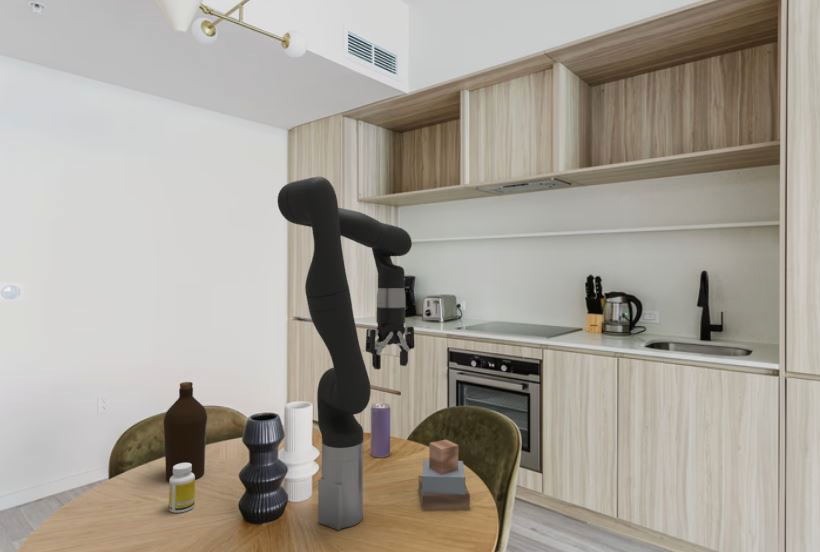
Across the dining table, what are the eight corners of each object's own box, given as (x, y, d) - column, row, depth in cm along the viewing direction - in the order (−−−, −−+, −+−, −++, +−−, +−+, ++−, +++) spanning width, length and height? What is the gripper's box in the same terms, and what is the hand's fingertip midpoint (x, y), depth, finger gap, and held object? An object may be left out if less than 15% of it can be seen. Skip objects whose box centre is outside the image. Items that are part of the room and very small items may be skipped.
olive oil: (172, 488, 122) (173, 389, 123) (157, 476, 130) (157, 383, 130) (213, 475, 130) (214, 383, 130) (196, 465, 137) (197, 377, 138)
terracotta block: (441, 474, 114) (441, 449, 114) (429, 467, 118) (429, 443, 118) (458, 470, 116) (458, 445, 116) (445, 463, 120) (445, 439, 120)
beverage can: (389, 458, 144) (389, 408, 144) (369, 458, 144) (369, 407, 144) (390, 451, 150) (391, 402, 150) (371, 450, 150) (371, 402, 150)
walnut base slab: (469, 511, 112) (469, 494, 112) (422, 512, 112) (422, 495, 112) (461, 490, 123) (461, 475, 123) (418, 491, 123) (418, 475, 123)
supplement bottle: (199, 504, 114) (200, 463, 114) (182, 515, 109) (182, 471, 109) (181, 501, 115) (182, 460, 115) (163, 511, 110) (163, 468, 110)
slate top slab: (465, 494, 112) (465, 477, 112) (422, 493, 113) (422, 476, 113) (462, 476, 122) (462, 461, 122) (423, 475, 123) (423, 460, 123)
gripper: (376, 307, 119) (376, 372, 119) (420, 305, 128) (420, 366, 128) (360, 305, 125) (359, 368, 125) (403, 304, 134) (403, 362, 134)
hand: (390, 367), depth 127 cm, fingers open, 8 cm apart
